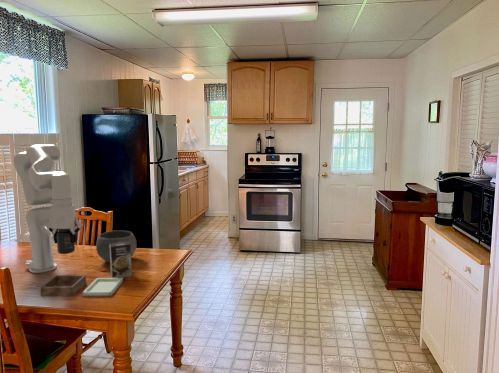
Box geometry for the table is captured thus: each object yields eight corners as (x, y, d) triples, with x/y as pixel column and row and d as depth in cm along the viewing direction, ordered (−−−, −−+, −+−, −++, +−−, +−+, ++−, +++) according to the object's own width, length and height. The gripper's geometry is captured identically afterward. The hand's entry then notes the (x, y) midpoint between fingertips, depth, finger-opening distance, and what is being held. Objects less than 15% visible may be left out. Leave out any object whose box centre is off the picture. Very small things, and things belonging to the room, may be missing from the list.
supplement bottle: (77, 249, 171) (75, 222, 169) (71, 253, 164) (69, 226, 162) (61, 249, 170) (59, 223, 169) (55, 254, 164) (52, 227, 162)
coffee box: (112, 279, 181) (110, 246, 178) (110, 275, 186) (108, 243, 184) (132, 276, 185) (130, 244, 183) (129, 272, 191) (128, 240, 188)
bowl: (111, 270, 192) (110, 242, 190) (89, 262, 205) (87, 235, 202) (144, 259, 208) (143, 233, 206) (122, 252, 221) (120, 227, 218)
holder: (40, 296, 163) (40, 287, 162) (56, 283, 177) (56, 275, 176) (72, 296, 163) (72, 287, 163) (86, 283, 177) (85, 275, 176)
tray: (82, 296, 163) (82, 292, 163) (97, 281, 179) (96, 277, 179) (110, 296, 163) (110, 292, 163) (122, 281, 179) (122, 277, 179)
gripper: (37, 204, 160) (41, 245, 163) (78, 203, 160) (81, 245, 163) (47, 200, 168) (50, 240, 171) (86, 200, 168) (89, 240, 170)
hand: (65, 242), depth 167 cm, fingers closed on supplement bottle, 6 cm apart
